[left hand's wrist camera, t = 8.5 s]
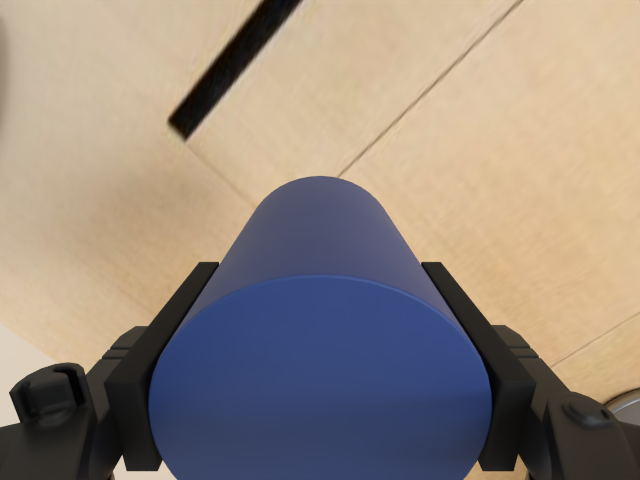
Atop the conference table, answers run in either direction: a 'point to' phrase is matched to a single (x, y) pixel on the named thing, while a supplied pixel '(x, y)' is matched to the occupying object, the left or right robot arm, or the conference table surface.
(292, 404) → the canister
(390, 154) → the conference table surface
